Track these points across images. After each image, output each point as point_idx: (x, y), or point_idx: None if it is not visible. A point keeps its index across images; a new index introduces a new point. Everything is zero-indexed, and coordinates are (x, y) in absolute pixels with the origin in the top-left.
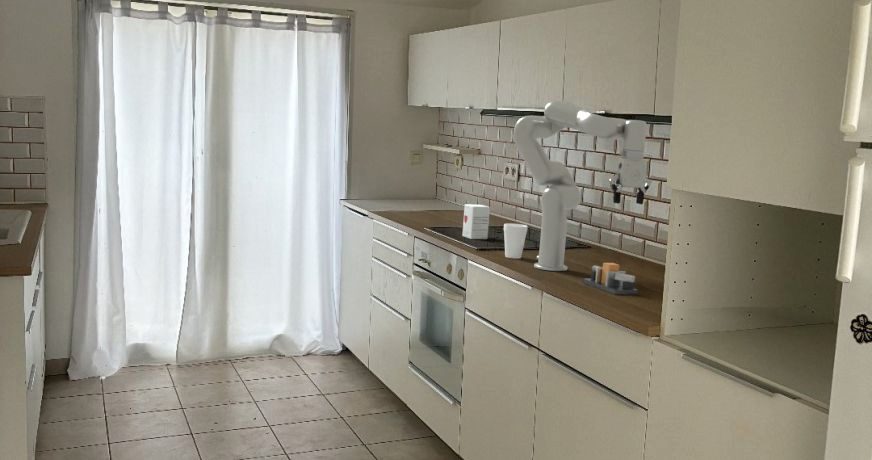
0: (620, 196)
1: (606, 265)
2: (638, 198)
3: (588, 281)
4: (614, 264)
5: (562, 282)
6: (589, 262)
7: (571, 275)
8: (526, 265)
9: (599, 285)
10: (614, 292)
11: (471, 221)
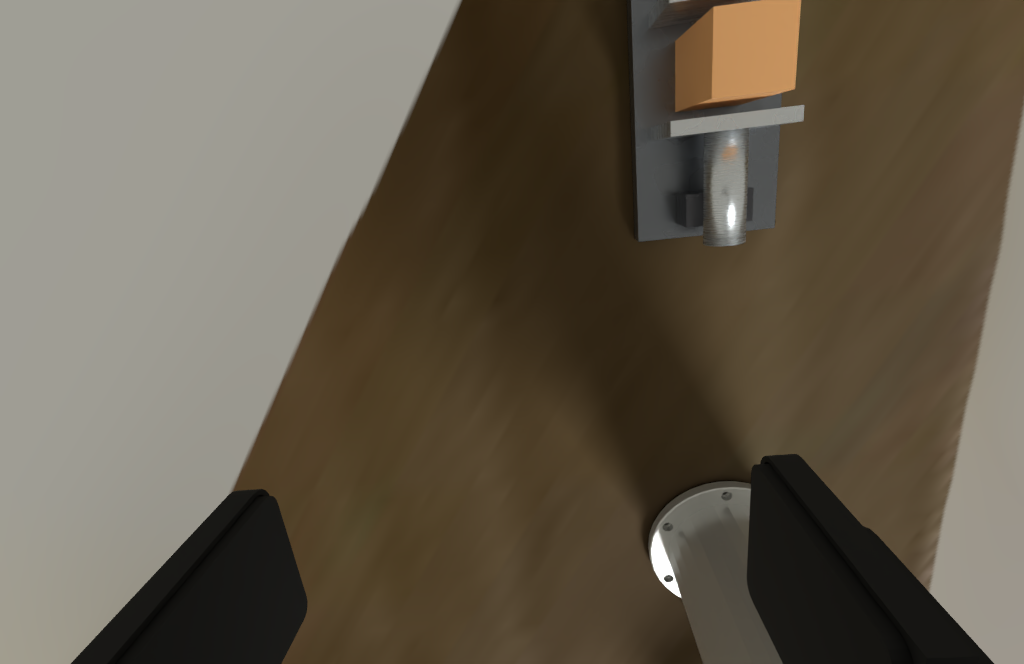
0: (829, 562)
1: (793, 40)
2: (249, 644)
3: (774, 170)
4: (745, 21)
5: (877, 225)
6: (455, 659)
7: (710, 399)
8: None
9: None
10: None
11: None
